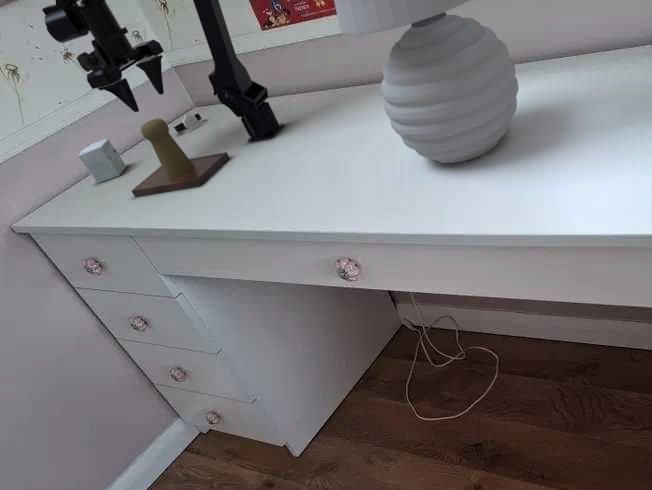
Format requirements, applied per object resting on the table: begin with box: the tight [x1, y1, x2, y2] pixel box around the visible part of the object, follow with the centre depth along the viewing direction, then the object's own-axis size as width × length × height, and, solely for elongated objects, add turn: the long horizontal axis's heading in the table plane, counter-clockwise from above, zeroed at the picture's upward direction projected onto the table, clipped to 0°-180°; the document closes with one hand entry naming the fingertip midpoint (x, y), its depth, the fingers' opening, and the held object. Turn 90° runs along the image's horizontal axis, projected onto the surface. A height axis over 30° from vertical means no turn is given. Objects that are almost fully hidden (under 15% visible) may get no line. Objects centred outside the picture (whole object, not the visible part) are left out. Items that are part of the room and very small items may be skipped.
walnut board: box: [131, 151, 231, 198], centre depth 139 cm, size 18×12×2 cm, turn 74°
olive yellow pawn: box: [140, 118, 193, 178], centre depth 135 cm, size 6×6×11 cm
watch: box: [173, 112, 203, 134], centre depth 167 cm, size 8×5×4 cm, turn 143°
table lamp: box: [333, 0, 520, 164], centre depth 95 cm, size 25×25×40 cm
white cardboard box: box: [77, 138, 127, 184], centre depth 154 cm, size 6×6×7 cm
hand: (149, 102), depth 143 cm, fingers open, 9 cm apart
